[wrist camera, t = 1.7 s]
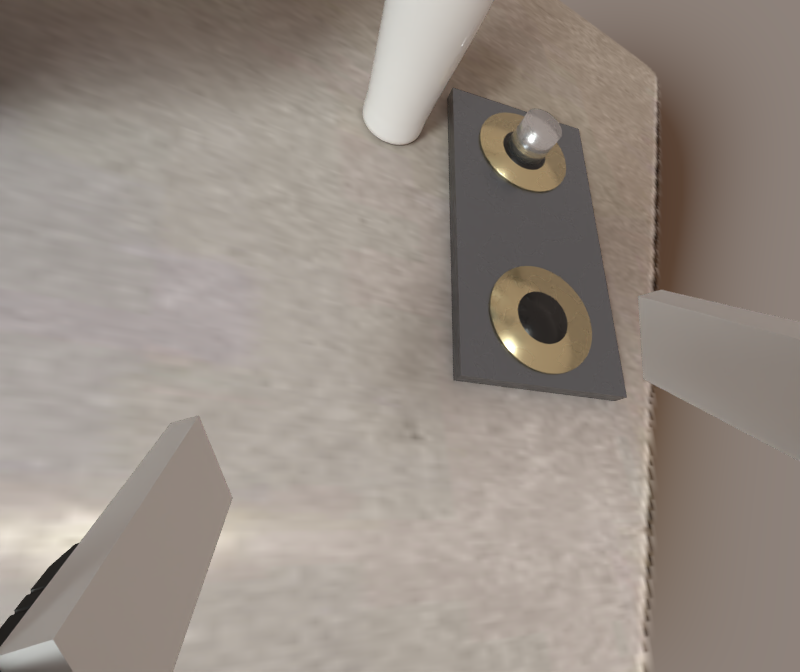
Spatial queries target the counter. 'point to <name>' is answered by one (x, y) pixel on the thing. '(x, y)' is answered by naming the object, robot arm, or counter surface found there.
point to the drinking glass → (416, 62)
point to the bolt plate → (526, 255)
